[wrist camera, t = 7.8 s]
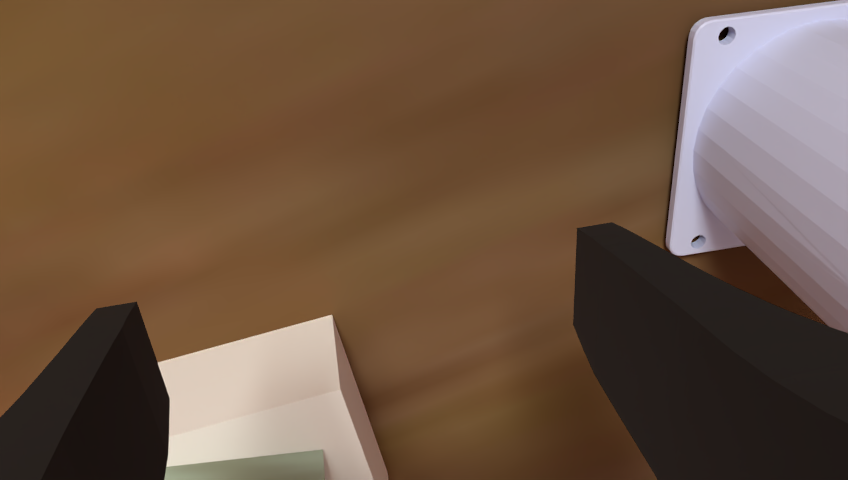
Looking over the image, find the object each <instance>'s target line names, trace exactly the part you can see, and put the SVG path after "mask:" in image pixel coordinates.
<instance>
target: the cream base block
mask: <svg viewBox="0 0 848 480" xmlns="http://www.w3.org/2000/svg"><path fill="white" fill-rule="evenodd" d="M158 366H159V369H160V372H161V375H162V378H163V380H164V383H165V386H166V389H167V392H168V395H169V398H170V413H169V447H168V460H167V466H166V467H170V466H178V465H187V464H196V463H205V462H214V461H224V460H233V459H242V458H251V457H260V456H269V455H278V454H287V453H296V452H305V451H314V450H323V459H324V473H325V480H389V479H388V473H387V469H386V467H385V464H384V461H383V458H382V455H381V452H380V450H379V447H378V444H377V441H376V438H375V435H374V433H373V430H372V427H371V424H370V421H369V418H368V415H367V413H366V410H365V407H364V404H363V401H362V398H361V396H360V393H359V390H358V387H357V384H356V381H355V379H354V376H353V373H352V370H351V367H350V364H349V361H348V359H347V356H346V353H345V350H344V347H343V344H342V342H341V339H340V336H339V333H338V330H337V327H336V325H335V322H334V319H333V316H332V315H329V316H325V317H322V318H318V319H315V320H311V321H307V322H304V323H300V324H296V325H293V326H289V327H286V328H282V329H278V330H275V331H271V332H267V333H264V334H260V335H256V336H253V337H249V338H246V339H242V340H238V341H235V342H231V343H227V344H224V345H220V346H217V347H213V348H209V349H206V350H202V351H198V352H195V353H191V354H187V355H184V356H180V357H177V358H173V359H169V360H166V361H162V362H158Z"/></svg>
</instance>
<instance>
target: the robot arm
mask: <svg viewBox="0 0 848 480" xmlns="http://www.w3.org/2000/svg"><path fill="white" fill-rule="evenodd" d="M726 27H728V28H729V32H728V34H727V36H726V37H725V38H724V39H723V40H720V41H719V39H718V36H719V34H720V32H721V31H722V30H723V29H724V28H726ZM698 235H700V237H699V239H697V240H696V241H695V242H692V243H691V241H692V239H693V238H694V237H696V236H698ZM666 246H667V248H668V249H669V250H670V251H671V252H672V254H671V253H669V252H667V251H665V250H663V249H662V248H660V247H658V246H656V245H654V244H653V243H651V242H649V241H647V240H645V239H643V238H642V237H640V236H638V235H636V234H634V233H632V232H630V231H629V230H627V229H625V228H623V227H621V226H618V225H616V224H614V223H606V224H600V225H594V226H588V227H582V228H577V246H576V271H575V295H574V320H573V325H574V328H575V330H576V332H577V335H578V337H579V340H580V342H581V345H582V347H583V350H584V352H585V354H586V356H587V359H588V361H589V363H590V366H591V368H592V370H593V372H594V374H595V376H596V378H597V379H598V381H599V383H600V385H601V386H602V388H603V390H604V391H605V393H606V395H607V396H608V398H609V400H610V401H611V403H612V405H613V406H614V408H615V410H616V411H617V413H618V415H619V416H620V418H621V420H622V421H623V423H624V425H625V426H626V428H627V430H628V431H629V433H630V434H631V436H632V438H633V439H634V441H635V443H636V444H637V446H638V448H639V449H640V451H641V453H642V454H643V456H644V457H645V459H646V461H647V462H648V464H649V466H650V467H651V469H652V471H653V472H654V474H655V476H656V477H657V479H658V480H848V0H839V1H831V2H823V3H816V4H808V5H800V6H792V7H784V8H776V9H768V10H761V11H753V12H745V13H737V14H729V15H721V16H713V17H706V18H703V19H700V20H699V21H698V22H697V23H695V24H694V26H693V27H692V29H691V30H690V33H689V37H688V46H687V55H686V64H685V73H684V82H683V90H682V99H681V108H680V117H679V126H678V135H677V144H676V153H675V162H674V171H673V180H672V189H671V198H670V206H669V215H668V224H667V233H666ZM740 246H747V247H748V248H749V249H750V250H751V251H752V252H753V253H754V254H755V255H756V256H757V257H758V258H759V259H760V260H761V261H762V262H763V263H764V264H765V265H766V266H767V267H768V268H769V269H770V270H771V271H772V272H773V273H774V274H775V275H776V276H777V277H779V278H780V279H781V280H782V281H783V282H784V283H785V284H786V285H787V286H788V287H789V288H790V289H791V290H792V291H793V292H794V293H795V294H796V295H797V296H798V297H799V298H800V299H801V300H802V301H803V302H804V303H805V304H806V305H807V306H808V307H809V308H810V309H811V310H812V311H813V312H814V313H815V314H816V315H818V316H819V317H820V318H821V319H822V320H823V321H824V322H825V323H826V324H827V325H828V326H826V325H824V324H821V323H818V322H816V321H813V320H811V319H808V318H805V317H803V316H800V315H797V314H795V313H792V312H790V311H787V310H785V309H782V308H780V307H778V306H775V305H773V304H771V303H768V302H766V301H764V300H762V299H760V298H758V297H755V296H753V295H751V294H749V293H747V292H745V291H742V290H740V289H738V288H736V287H734V286H732V285H730V284H728V283H726V282H724V281H722V280H720V279H718V278H716V277H714V276H712V275H710V274H708V273H706V272H704V271H702V270H700V269H698V268H697V267H695V266H693V265H691V264H689V263H687V262H685V261H684V260H682V259H680V258H678V257H676V256H684V255H690V254H696V253H703V252H709V251H715V250H721V249H727V248H733V247H740ZM673 254H674V255H676V256H674V255H673ZM169 413H170V398H169V395H168V392H167V389H166V386H165V383H164V380H163V378H162V375H161V372H160V369H159V366H158V363H157V360H156V357H155V354H154V351H153V348H152V345H151V342H150V340H149V337H148V334H147V331H146V328H145V325H144V322H143V319H142V316H141V313H140V310H139V307H138V305H137V302H133V303H127V304H121V305H115V306H109V307H103V308H97V309H96V310H95V311H94V312H93V313H92V314H91V315H90V316H89V317H88V318H87V320H86V321H85V322H84V323H83V324H82V325H81V327H80V328H79V329H78V330H77V331H76V333H75V334H74V335H73V336H72V337H71V339H70V340H69V341H68V342H67V343H66V344H65V346H64V347H63V348H62V349H61V350H60V352H59V353H58V354H57V355H56V356H55V358H54V359H53V360H52V361H51V362H50V363H49V364H48V366H47V367H46V368H45V369H44V370H43V371H42V373H41V374H40V375H39V376H38V377H37V378H36V379H35V381H34V382H33V383H32V384H31V385H30V386H29V387H28V389H27V390H26V391H25V392H24V393H23V394H22V395H21V396H20V398H19V399H18V400H17V401H16V402H15V403H14V404H13V405H12V406H11V407H10V408H9V409H8V410H7V411H6V412H5V413H4V414H3V415H2V416H1V417H0V480H164V478H165V472H166V466H167V460H168V447H169Z"/></svg>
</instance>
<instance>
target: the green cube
mask: <svg viewBox="0 0 848 480" xmlns="http://www.w3.org/2000/svg"><path fill="white" fill-rule="evenodd" d="M164 480H325V473H324V459H323V450H314V451H305V452H296V453H287V454H278V455H269V456H260V457H251V458H242V459H233V460H224V461H214V462H205V463H196V464H187V465H178V466H170V467H166V472H165V478H164Z"/></svg>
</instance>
